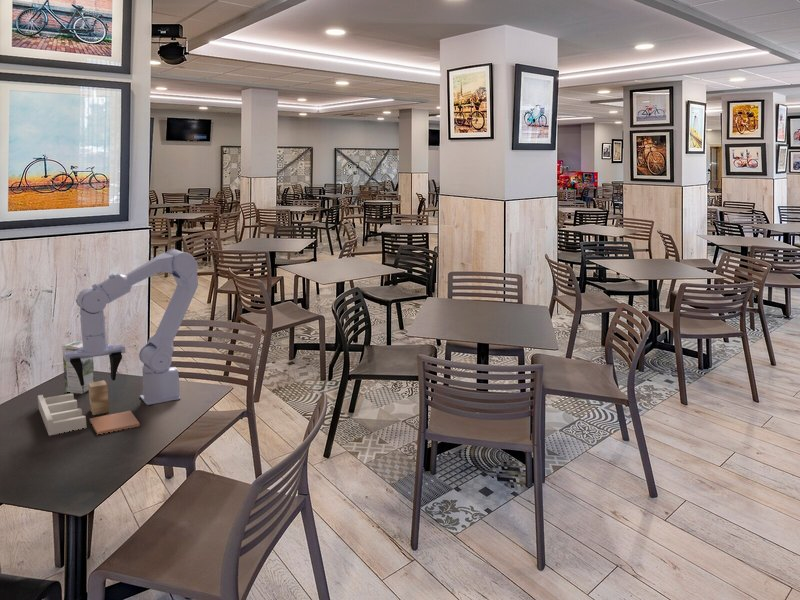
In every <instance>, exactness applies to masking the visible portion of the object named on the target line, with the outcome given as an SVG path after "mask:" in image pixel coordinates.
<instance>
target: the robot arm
mask: <svg viewBox="0 0 800 600" xmlns="http://www.w3.org/2000/svg"><path fill="white" fill-rule="evenodd" d="M198 267H199V264H198V263H197V260H196V259H195V257H194V256H193V255H192V254H191V253H189V252H186V251H185V252H183V251H181V250H178V249H176V248H170V249H169V250H167V251H165V252H163V253H159V254H158V255H156V256H155V257H153V258H152V259H150V260H149V261H147V262H145V263H143V264H142V265H140V266H138V267H137V268H135V269H133V270H131V271H130V272H128V273H127V274H121V273H117V274H114V273H112V274H109V275H108V278H107V279H105V280H104V281H102V282H100V283H97V284H96V283H94V284H92V285H91V287H92V288H84V289H82V290H81V291H79V293H78V294H77V295H76V296H77V297H76V299H75V303H76V305H77V306H78V307H79V308H80V309H79V314H80V318H79V319H80V330H81V341H82V343H83V349H80V350H76V351H72V352H66V353H64V359H65V361H66V362H67V361H70V363H71V364H72V366H73V367H74V369H75V371H76V373H77V375H78V378H79V381H80V385H81V386H84V379H83V369H82V362H81V360H80V359H82V358H89V357H93V358H95V357H103V356H108V357H109V364H110V378H111V380H112V381H116V378H117V377H116V376H117V372H118V368H119V366H120V363H121V361H122V359H123V354H126V346H125V344H119V345H118V344H117V345H108V343H107V332H106V320H105V319H106V318H105V313H104V310H105V309H106V306H107V304H110V303H112V302H114V301H115V300H117V299H120V298H121V297H123V296H125V295H127V294H128V293H130V292H131V290H132V288H133V286H135V285H136V284H138V283H140V282H142V281H144V280H146V279H148V278H150V277H152V276H154V275H156V274H158V273H168V274H171V275H172V276H173V279H174V280H175V283H176V284H177V285H176V287H175V290H174V292H173V293H172V297H171V298H170V299H169V303H168V304H167V307H166V308H165V311H164V314H163V316H162V318H161V320H160V323H159V325H158V327H157V329H156V331H155V333H154V334H153V335H152V336H151V337H150V338H148V341H147V343H145V345H143V347H141V349H140V350H139V355H138V358H139V360H140V362H141V363H143V367H142V384H143V385H142V386H143V387H142V388H143V394H140V395H139V398H140V399H141V400H142V401H143V403H144V404H145V405H146V406H150V405H155V404H156V405H157V404H159V403H161V404H162V403H166V402H172V401H175V400H176V401H177V400H180V399H181V396H180V395H181V392H180V377H179V372H178V369H177V367H176V366H171V365H172V362H173V354H174V351H175V350H174V340H175V338H176V335H177V333H178V332H179V329H180V326H181V324H182V323H183V320H184V318H185V315H186V313H187V311H188V309H189V306H190V305H191V302H192V300H193V298H194V296H195V294H196V292H197V289H198V286H199V279H198Z"/></svg>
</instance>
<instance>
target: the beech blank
mask: <svg viewBox="0 0 800 600" xmlns="http://www.w3.org/2000/svg"><path fill="white" fill-rule="evenodd" d="M88 388H89V391H88V396H89V397H88V399H89V410H90V412H92V413H91V415H92V416H95V415H96V414H97V415H102V414H105V413H106V414H107V412H108V413H110V406H109V405H110V403H109V391H108V390H109V389H108V384H107V382H106V381H105V379H103V380H98V381H95V382H90V383H88ZM101 413H102V414H101ZM97 415H96V416H97Z"/></svg>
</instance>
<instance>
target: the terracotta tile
mask: <svg viewBox="0 0 800 600" xmlns="http://www.w3.org/2000/svg"><path fill="white" fill-rule="evenodd" d="M89 422H90V424H92V425H91V426H92V427H93V430H94V432H95V433H97V434H96V436H99V435H98V434H101V435H104V434H103V433H105V434H109V433H108V432H110V433H113V431H115V432H118V430H119V431H123V430H122V429H124V430H128V428H129V429H132V428H138V427H140V426H141V425H140V422H139V420H138V419H137V418H136V416H135V415H134V414H133V412H132V411H131V410H127V411H122V412H117V413H111V414H105V415H101V416H96V417H92V418H89Z"/></svg>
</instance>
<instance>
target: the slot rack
mask: <svg viewBox="0 0 800 600" xmlns="http://www.w3.org/2000/svg"><path fill="white" fill-rule="evenodd" d="M74 395H75V394H74V393H65V394H59V395H54V396H48V397H44V394H39V395H37V401H38V402H37V403H38V410H39V413H40V415H41V418H42V422H43V424H44V427H45V429H46V432H47V434H48V436H49V437H50V436H54V435H59V433H60V434H64V432H65V433H68V432H69V431H70V432H73V431H72V430H74V431H79V430H83V429H82V428H84V429H87V428H88V427H87V417H86V415H83V410H82V408H78V400H77V399H75V397H74ZM78 429H79V430H78Z"/></svg>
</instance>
